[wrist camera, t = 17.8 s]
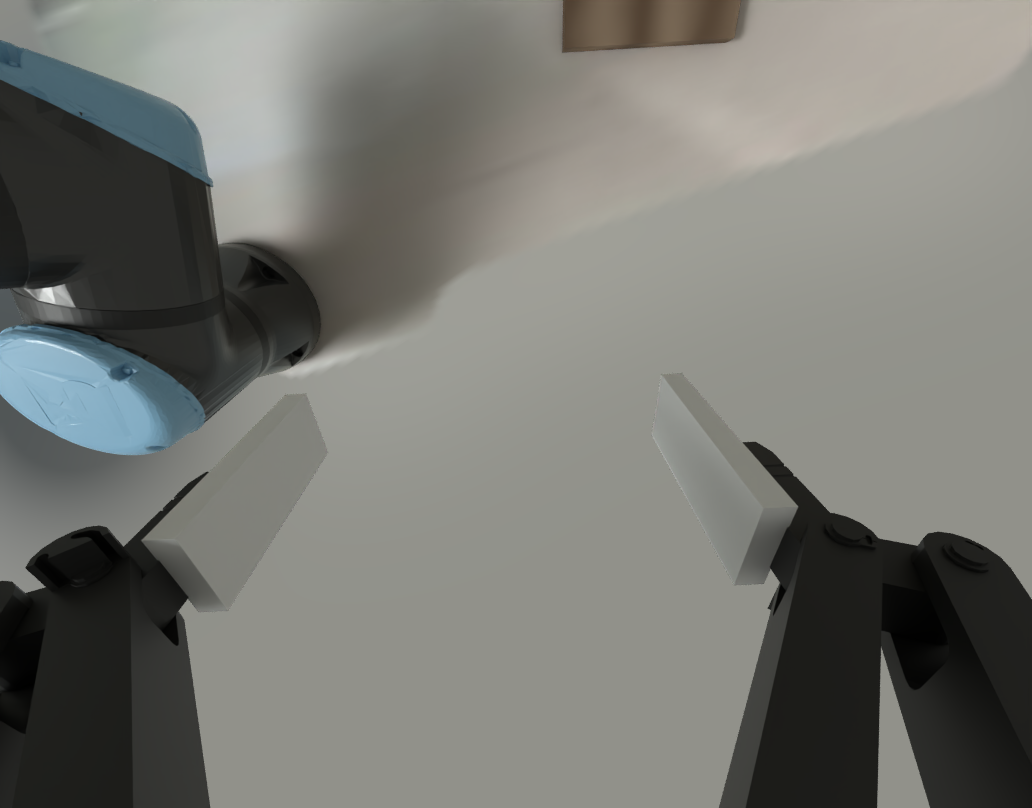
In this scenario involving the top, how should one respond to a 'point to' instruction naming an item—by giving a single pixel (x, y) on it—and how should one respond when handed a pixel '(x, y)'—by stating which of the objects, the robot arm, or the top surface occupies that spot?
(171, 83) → the top surface
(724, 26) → the base board
